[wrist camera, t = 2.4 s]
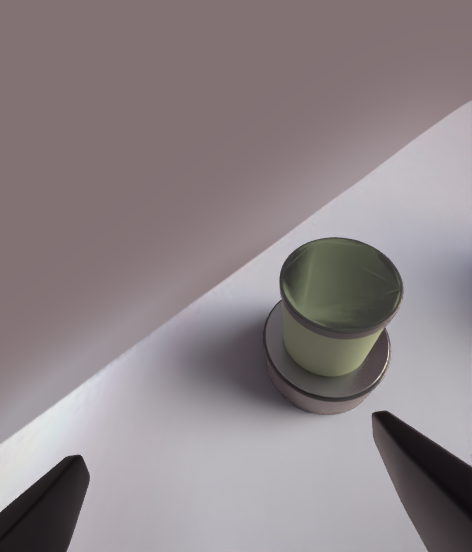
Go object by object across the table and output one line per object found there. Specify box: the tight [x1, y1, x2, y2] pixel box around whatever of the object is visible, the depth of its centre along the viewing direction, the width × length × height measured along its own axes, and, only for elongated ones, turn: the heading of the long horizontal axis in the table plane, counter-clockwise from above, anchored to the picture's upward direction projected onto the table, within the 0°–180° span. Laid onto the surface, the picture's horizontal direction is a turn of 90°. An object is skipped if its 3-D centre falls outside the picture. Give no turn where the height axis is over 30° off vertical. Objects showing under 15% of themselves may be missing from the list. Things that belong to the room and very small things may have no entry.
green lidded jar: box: [280, 237, 403, 377], centre depth 18 cm, size 6×6×7 cm
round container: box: [263, 300, 391, 415], centre depth 22 cm, size 9×9×4 cm
